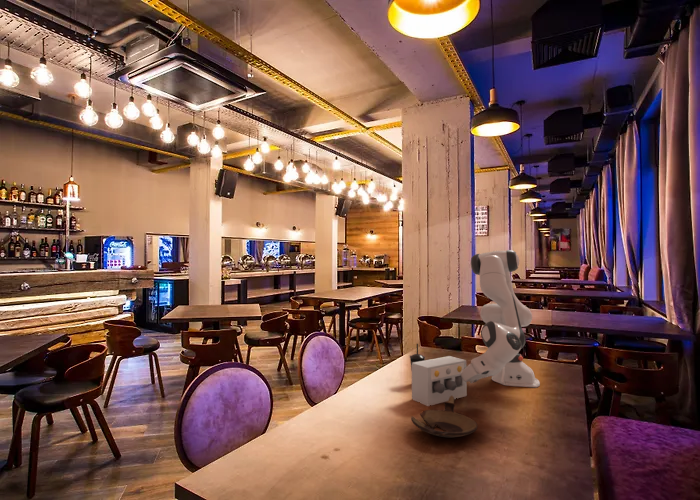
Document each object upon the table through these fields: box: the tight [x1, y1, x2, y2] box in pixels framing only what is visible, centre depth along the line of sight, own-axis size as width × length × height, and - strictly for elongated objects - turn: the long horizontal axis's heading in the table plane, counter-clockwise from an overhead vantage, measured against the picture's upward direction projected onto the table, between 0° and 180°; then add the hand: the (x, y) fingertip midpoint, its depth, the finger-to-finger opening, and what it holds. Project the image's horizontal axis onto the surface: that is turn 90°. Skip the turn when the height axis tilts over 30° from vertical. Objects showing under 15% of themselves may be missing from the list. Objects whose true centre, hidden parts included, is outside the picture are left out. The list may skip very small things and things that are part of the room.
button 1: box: [455, 376, 462, 386], centre depth 175 cm, size 3×4×4 cm
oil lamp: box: [410, 396, 478, 439], centre depth 139 cm, size 22×30×8 cm
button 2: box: [445, 379, 456, 391], centre depth 168 cm, size 3×4×4 cm
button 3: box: [433, 382, 445, 393], centre depth 165 cm, size 3×4×4 cm
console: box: [411, 355, 468, 407], centre depth 174 cm, size 11×24×16 cm, turn 122°
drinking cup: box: [409, 343, 426, 372], centre depth 193 cm, size 8×8×20 cm
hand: (471, 381), depth 167 cm, fingers closed
